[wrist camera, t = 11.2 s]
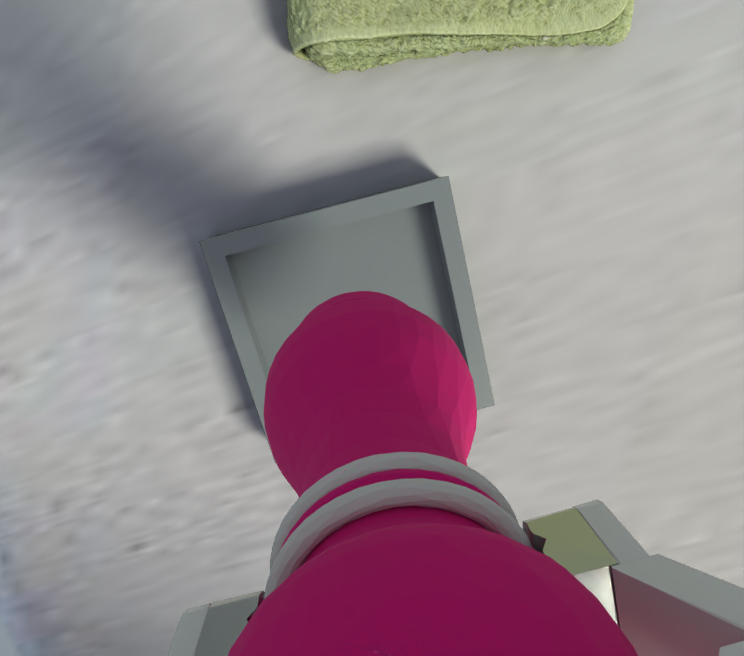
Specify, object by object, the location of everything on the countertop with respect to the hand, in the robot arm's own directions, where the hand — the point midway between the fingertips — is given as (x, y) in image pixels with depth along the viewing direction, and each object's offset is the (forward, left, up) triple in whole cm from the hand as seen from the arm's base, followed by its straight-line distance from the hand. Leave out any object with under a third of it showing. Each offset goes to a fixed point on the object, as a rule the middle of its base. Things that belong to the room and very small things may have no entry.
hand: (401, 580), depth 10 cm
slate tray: (0, 0, -21) cm, 21 cm away
